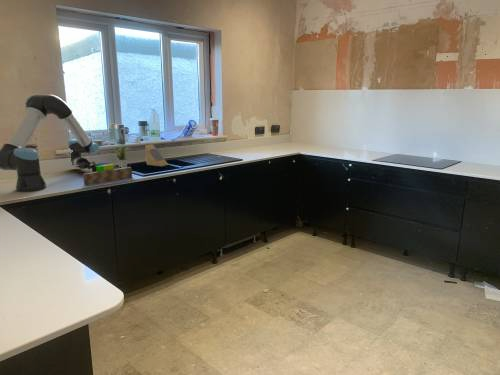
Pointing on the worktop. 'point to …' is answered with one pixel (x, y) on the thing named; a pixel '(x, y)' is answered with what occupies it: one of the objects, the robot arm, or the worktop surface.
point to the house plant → (122, 158)
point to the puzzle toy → (102, 167)
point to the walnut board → (107, 176)
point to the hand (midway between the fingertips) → (95, 167)
